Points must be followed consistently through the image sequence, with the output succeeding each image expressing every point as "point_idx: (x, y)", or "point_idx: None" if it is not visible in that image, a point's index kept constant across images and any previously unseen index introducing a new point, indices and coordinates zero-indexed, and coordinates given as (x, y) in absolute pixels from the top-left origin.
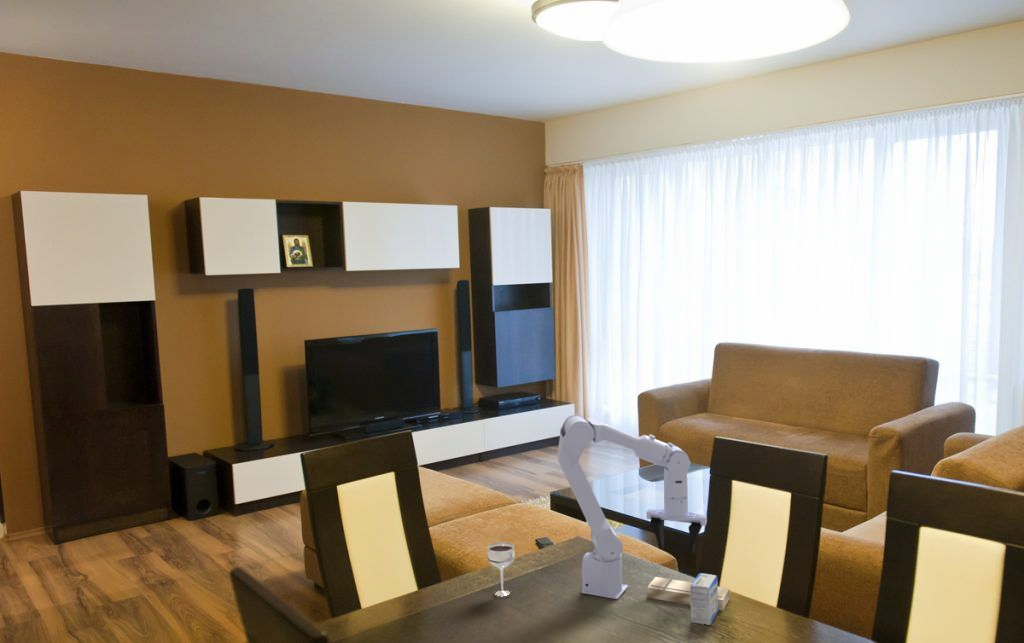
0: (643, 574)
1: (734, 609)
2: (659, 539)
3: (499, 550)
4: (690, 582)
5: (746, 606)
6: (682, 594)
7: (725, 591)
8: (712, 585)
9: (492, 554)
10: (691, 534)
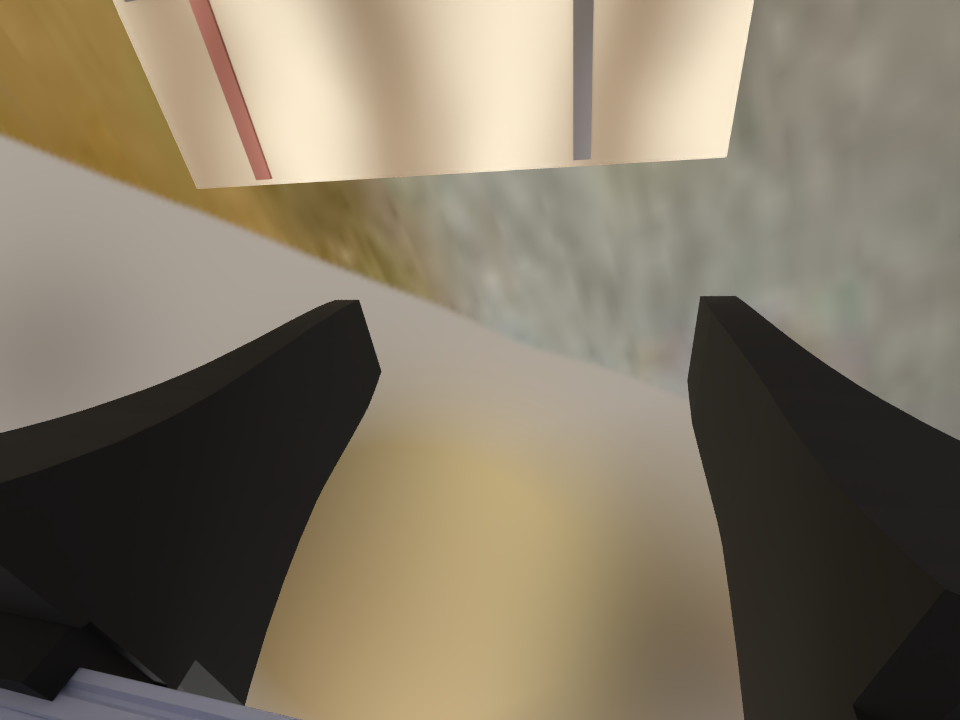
0: (833, 304)
1: None
2: (765, 358)
3: None
4: (431, 168)
5: (118, 108)
6: None
7: (181, 126)
8: None
9: None
10: (125, 421)
